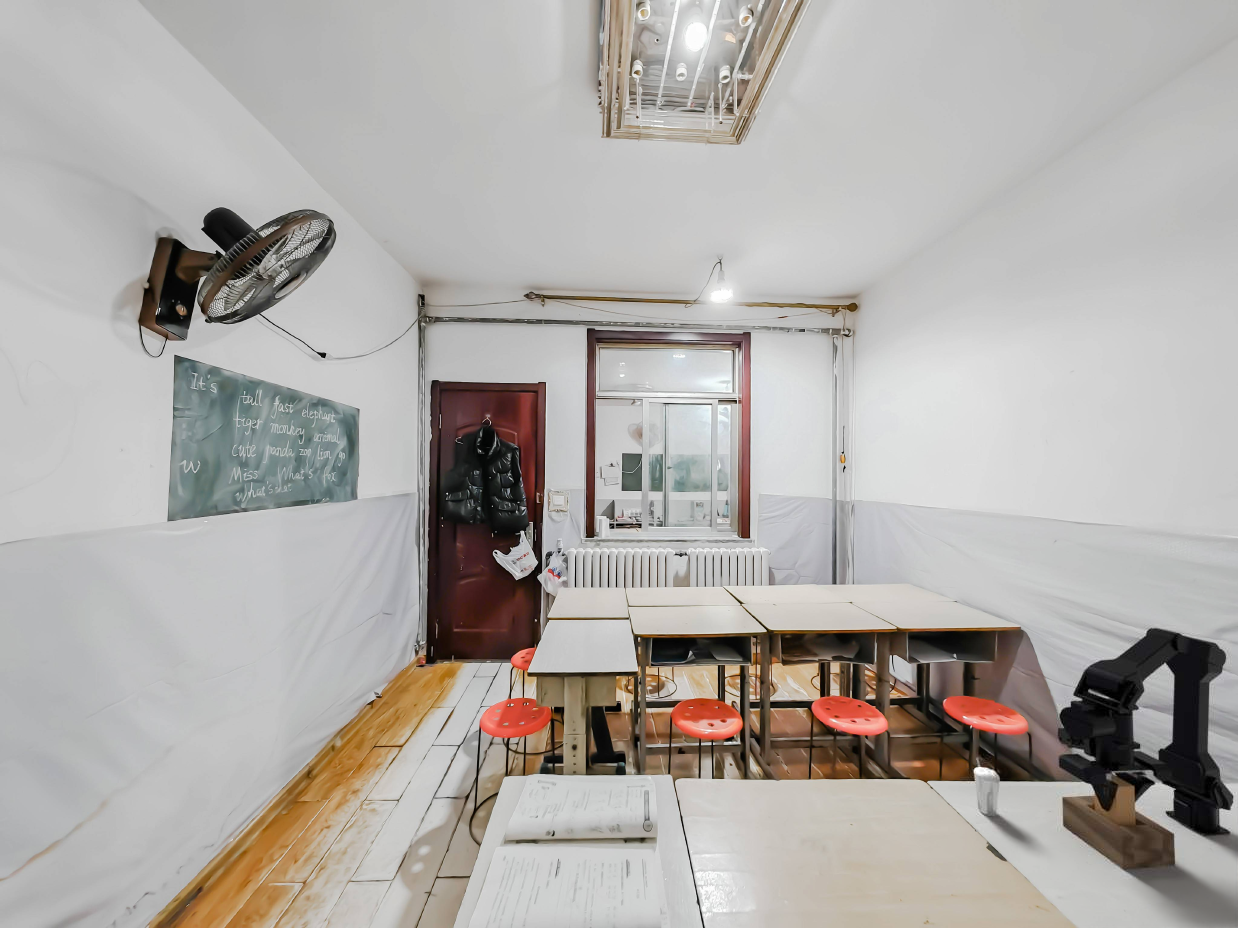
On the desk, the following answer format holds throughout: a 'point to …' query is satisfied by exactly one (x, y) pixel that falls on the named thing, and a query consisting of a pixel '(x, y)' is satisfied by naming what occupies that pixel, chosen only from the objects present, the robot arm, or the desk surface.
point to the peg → (1120, 804)
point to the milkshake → (986, 789)
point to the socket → (1119, 835)
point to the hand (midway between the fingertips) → (1115, 809)
